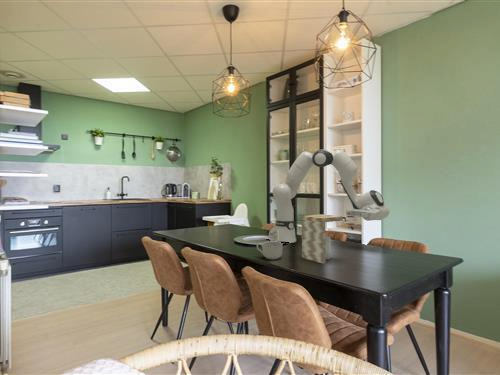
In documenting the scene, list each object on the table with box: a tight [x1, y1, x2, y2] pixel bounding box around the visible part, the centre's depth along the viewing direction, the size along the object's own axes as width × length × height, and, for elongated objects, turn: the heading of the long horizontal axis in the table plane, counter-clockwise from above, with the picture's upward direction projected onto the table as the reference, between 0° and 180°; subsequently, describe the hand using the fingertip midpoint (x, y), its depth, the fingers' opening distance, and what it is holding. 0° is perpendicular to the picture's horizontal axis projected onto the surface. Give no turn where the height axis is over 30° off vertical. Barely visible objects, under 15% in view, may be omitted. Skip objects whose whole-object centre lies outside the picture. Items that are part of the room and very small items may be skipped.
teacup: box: [256, 240, 284, 261], centre depth 161 cm, size 14×11×8 cm
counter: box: [301, 213, 343, 265], centre depth 158 cm, size 15×14×22 cm
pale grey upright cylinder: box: [325, 235, 332, 260], centre depth 159 cm, size 6×6×11 cm
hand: (353, 214), depth 172 cm, fingers open, 8 cm apart
